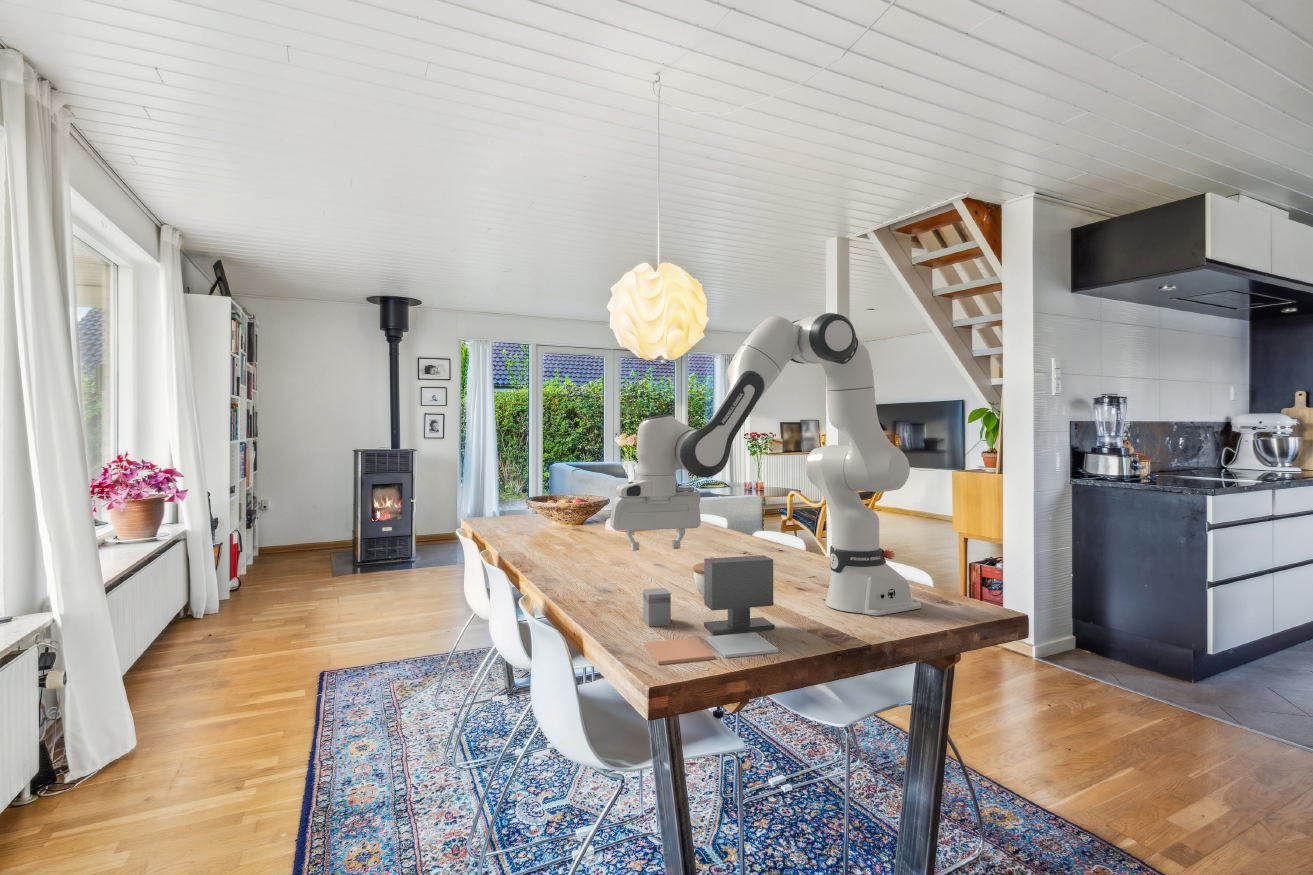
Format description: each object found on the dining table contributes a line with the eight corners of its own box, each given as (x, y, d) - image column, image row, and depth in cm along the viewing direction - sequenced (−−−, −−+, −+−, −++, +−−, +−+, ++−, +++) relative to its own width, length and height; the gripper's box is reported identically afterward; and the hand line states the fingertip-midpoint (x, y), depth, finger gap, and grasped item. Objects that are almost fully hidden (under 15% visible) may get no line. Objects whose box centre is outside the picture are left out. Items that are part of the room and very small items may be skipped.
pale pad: (755, 635, 137) (755, 632, 137) (778, 652, 127) (778, 649, 127) (705, 639, 135) (705, 636, 135) (724, 657, 124) (724, 654, 124)
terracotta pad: (696, 640, 134) (696, 637, 134) (714, 658, 124) (714, 655, 124) (644, 645, 131) (644, 642, 131) (658, 664, 121) (658, 661, 121)
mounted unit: (763, 621, 147) (762, 554, 147) (774, 629, 141) (774, 559, 141) (703, 626, 144) (703, 558, 143) (713, 634, 138) (712, 563, 137)
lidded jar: (685, 597, 168) (685, 561, 168) (706, 589, 177) (705, 554, 177) (722, 603, 162) (722, 566, 162) (741, 594, 171) (741, 558, 171)
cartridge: (664, 618, 150) (664, 587, 150) (670, 624, 145) (670, 593, 145) (643, 620, 149) (643, 589, 149) (648, 626, 144) (648, 594, 144)
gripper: (695, 485, 152) (695, 545, 152) (609, 487, 147) (608, 548, 147) (704, 487, 146) (704, 549, 146) (614, 489, 141) (614, 553, 141)
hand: (655, 549), depth 147 cm, fingers open, 8 cm apart
